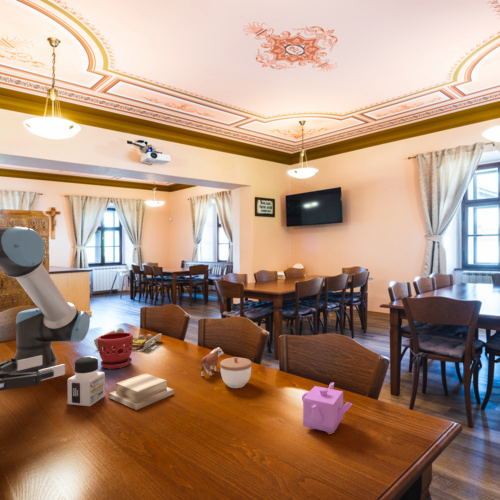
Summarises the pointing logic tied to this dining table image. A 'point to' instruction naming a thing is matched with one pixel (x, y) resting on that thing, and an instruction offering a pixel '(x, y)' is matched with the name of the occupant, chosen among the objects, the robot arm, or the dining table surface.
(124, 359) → the plant pot
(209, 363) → the bull figurine
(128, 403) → the plinth
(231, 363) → the lidded jar
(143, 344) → the toy food set
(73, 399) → the container
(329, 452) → the dining table surface
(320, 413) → the teapot
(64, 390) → the dining table surface
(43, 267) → the robot arm
